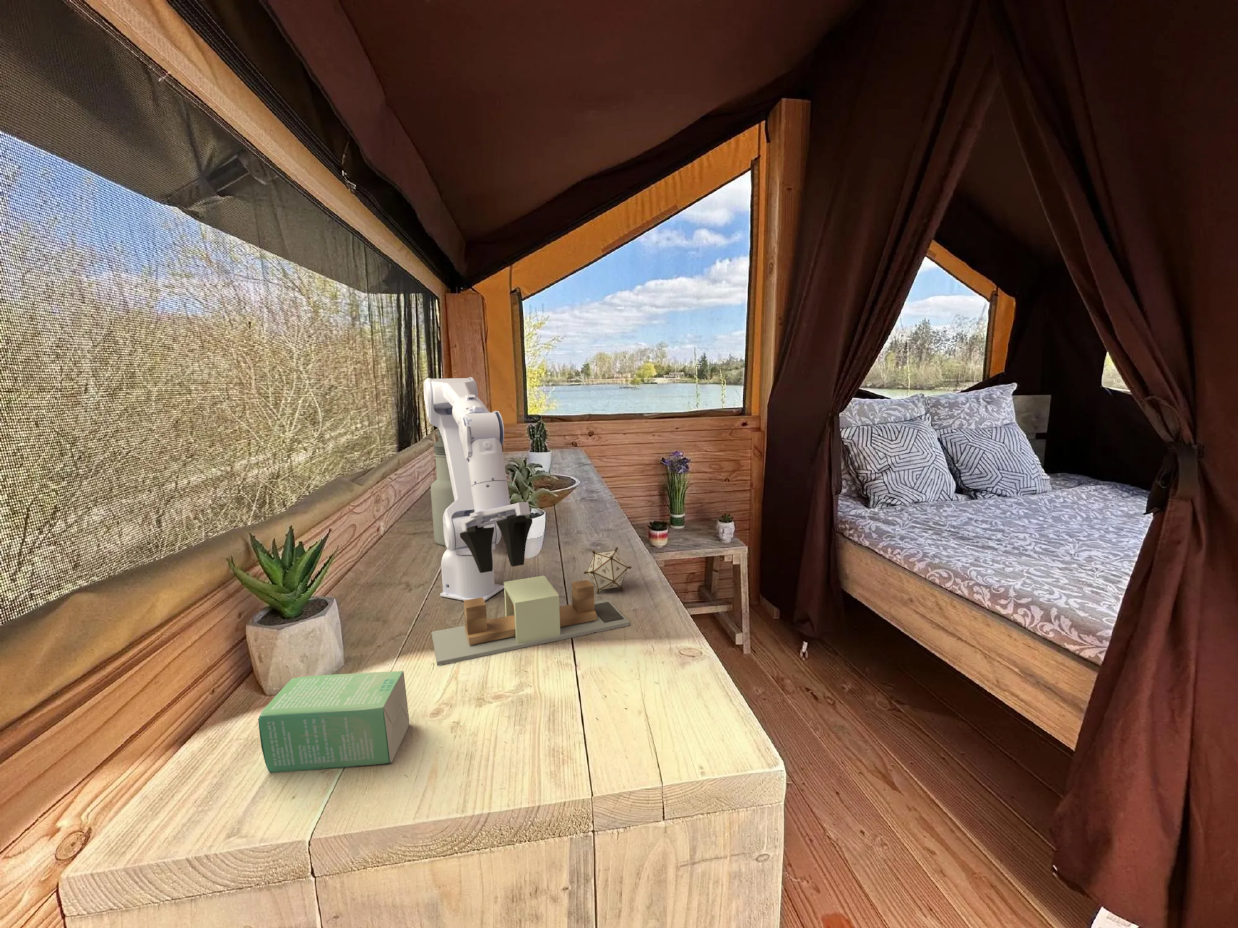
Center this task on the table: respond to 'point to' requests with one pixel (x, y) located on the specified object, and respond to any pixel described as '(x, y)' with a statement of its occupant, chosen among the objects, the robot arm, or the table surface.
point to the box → (335, 721)
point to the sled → (504, 627)
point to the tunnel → (533, 608)
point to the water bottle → (440, 490)
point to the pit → (607, 612)
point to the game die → (607, 570)
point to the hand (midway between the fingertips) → (501, 569)
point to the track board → (508, 639)
